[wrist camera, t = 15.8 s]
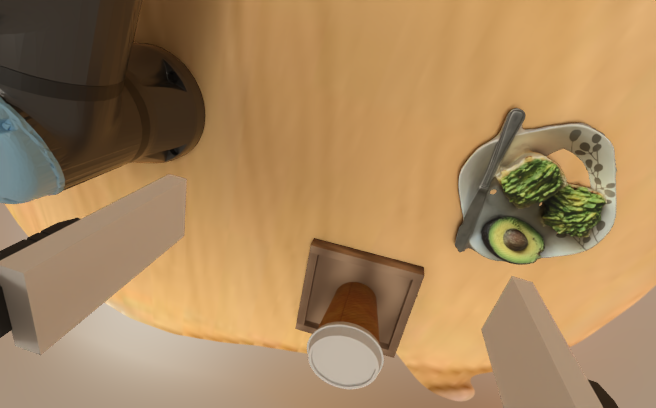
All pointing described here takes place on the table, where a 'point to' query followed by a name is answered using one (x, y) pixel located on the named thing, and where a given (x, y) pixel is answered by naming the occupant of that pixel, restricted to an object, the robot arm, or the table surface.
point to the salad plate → (536, 193)
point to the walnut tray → (369, 269)
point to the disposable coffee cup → (348, 339)
